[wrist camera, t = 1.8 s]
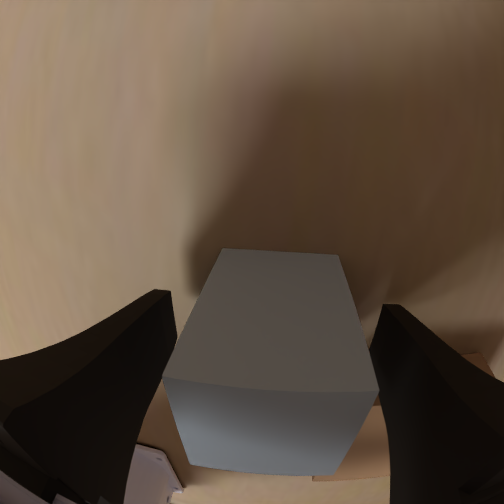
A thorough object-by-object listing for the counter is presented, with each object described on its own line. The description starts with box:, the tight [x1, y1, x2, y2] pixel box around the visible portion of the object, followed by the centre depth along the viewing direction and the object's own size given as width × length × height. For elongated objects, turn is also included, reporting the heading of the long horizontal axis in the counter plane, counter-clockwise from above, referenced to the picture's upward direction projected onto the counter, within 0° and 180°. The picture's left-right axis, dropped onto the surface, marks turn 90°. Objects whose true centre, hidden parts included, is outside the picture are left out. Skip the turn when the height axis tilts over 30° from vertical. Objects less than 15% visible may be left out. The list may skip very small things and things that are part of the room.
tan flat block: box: [312, 352, 495, 481], centre depth 12 cm, size 8×8×3 cm
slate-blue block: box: [162, 248, 379, 476], centre depth 8 cm, size 4×4×6 cm
